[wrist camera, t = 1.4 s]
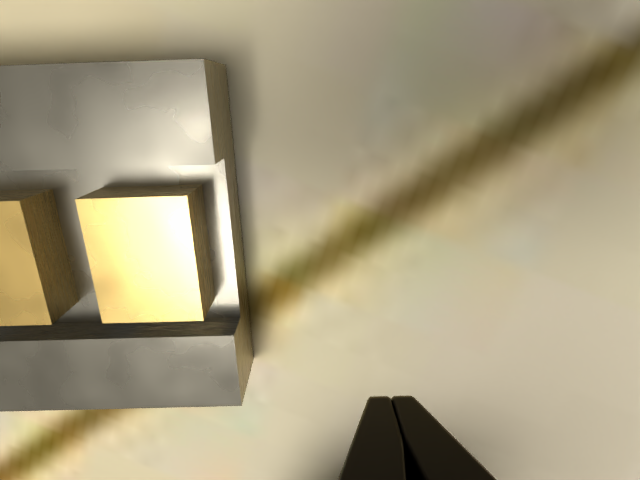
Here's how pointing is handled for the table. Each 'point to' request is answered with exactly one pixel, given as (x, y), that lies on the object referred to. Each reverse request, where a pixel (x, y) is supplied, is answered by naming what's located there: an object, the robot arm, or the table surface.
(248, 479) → the table surface
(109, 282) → the brass chip
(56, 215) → the brass chip
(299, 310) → the table surface
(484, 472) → the robot arm
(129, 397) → the slotted plate
